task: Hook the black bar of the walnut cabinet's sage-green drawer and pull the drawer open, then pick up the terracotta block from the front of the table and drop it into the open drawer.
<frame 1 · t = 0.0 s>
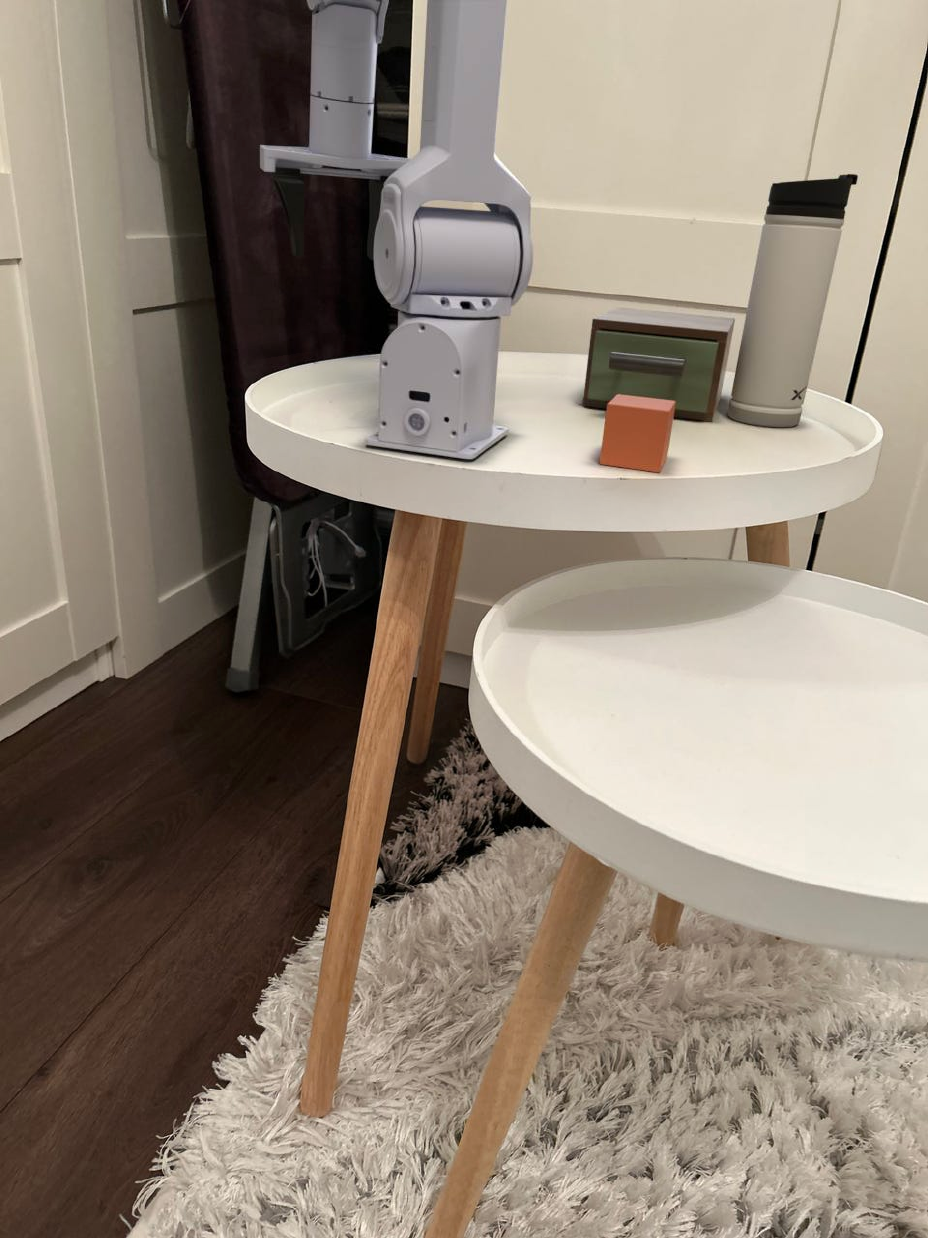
hand: (335, 256, 87), 11 cm above the table, tool pointing down, fingers open, 7 cm apart
cabinet: (655, 401, 85), on the table
block: (633, 461, 62), on the table
drawer: (656, 366, 79), point 4 cm above the table, slide at 0.0 cm
travel mug: (764, 422, 79), on the table
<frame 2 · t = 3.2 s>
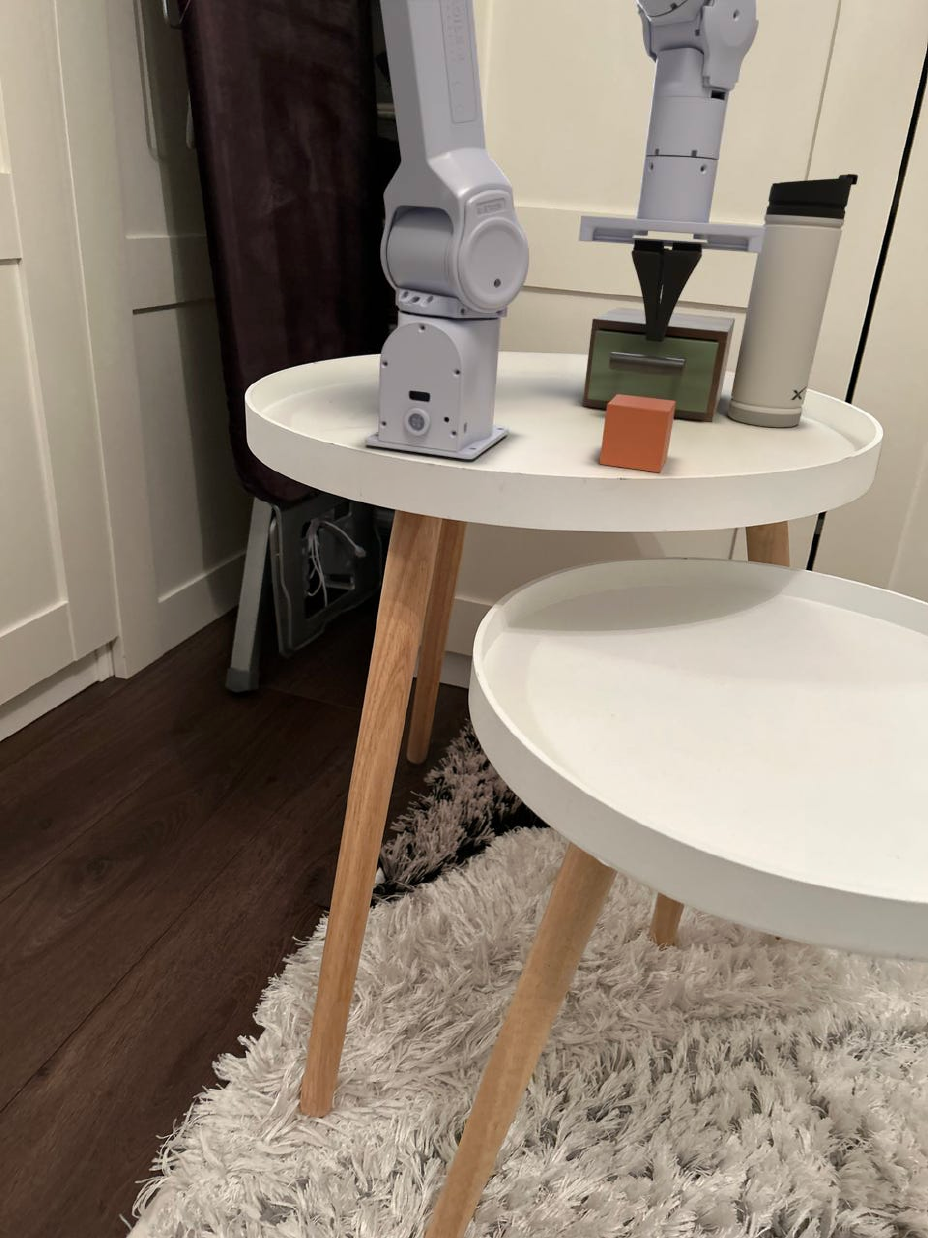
hand: (655, 339, 74), 7 cm above the table, tool pointing down, fingers closed, pressing on drawer
drawer: (656, 366, 79), point 4 cm above the table, slide at 0.0 cm, touching cabinet, gripper
everything else where it was.
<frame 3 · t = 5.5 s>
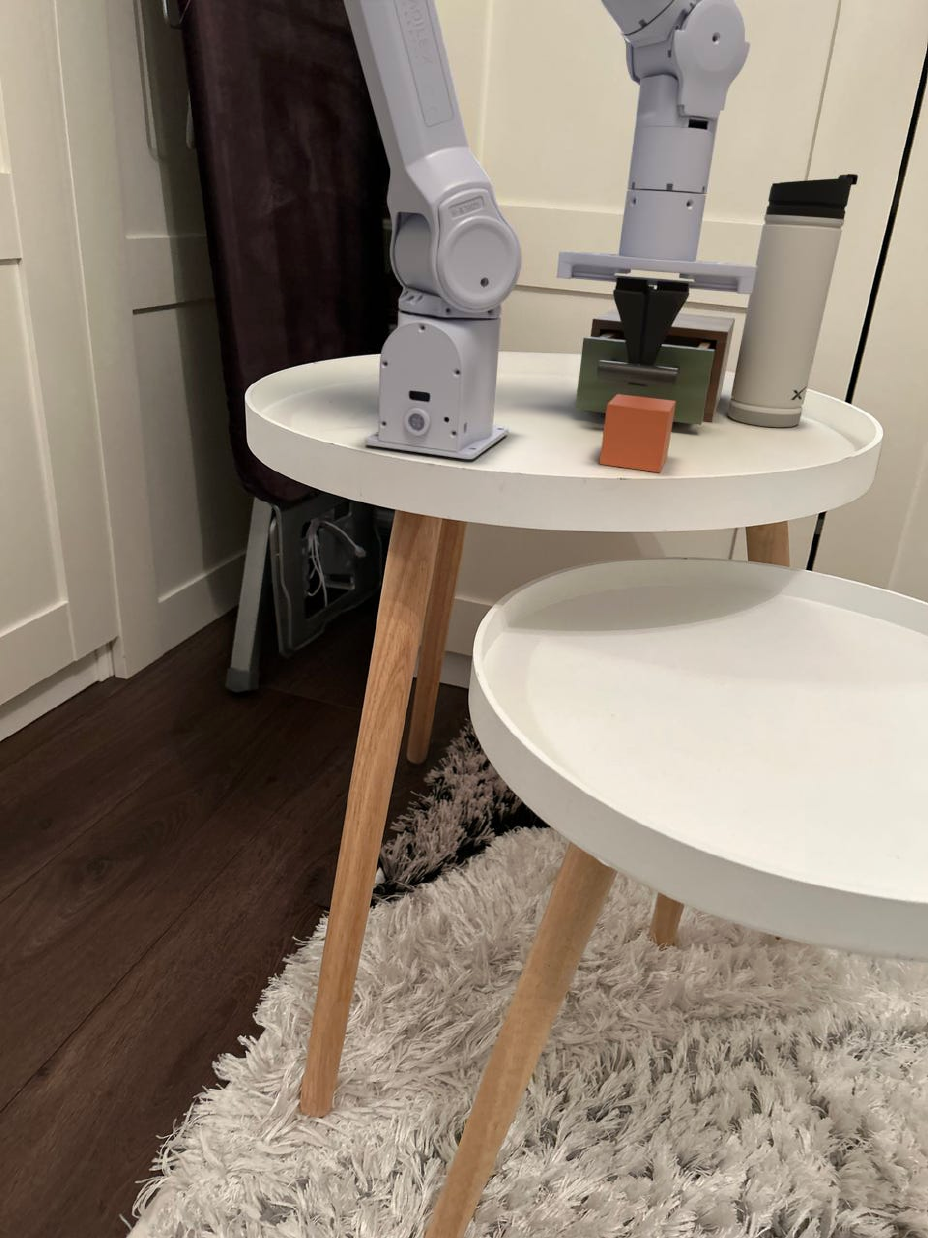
hand: (638, 383, 69), 4 cm above the table, tool pointing down, fingers closed, pressing on drawer
drawer: (648, 374, 75), point 4 cm above the table, slide at 5.5 cm, touching gripper
everything else where it was.
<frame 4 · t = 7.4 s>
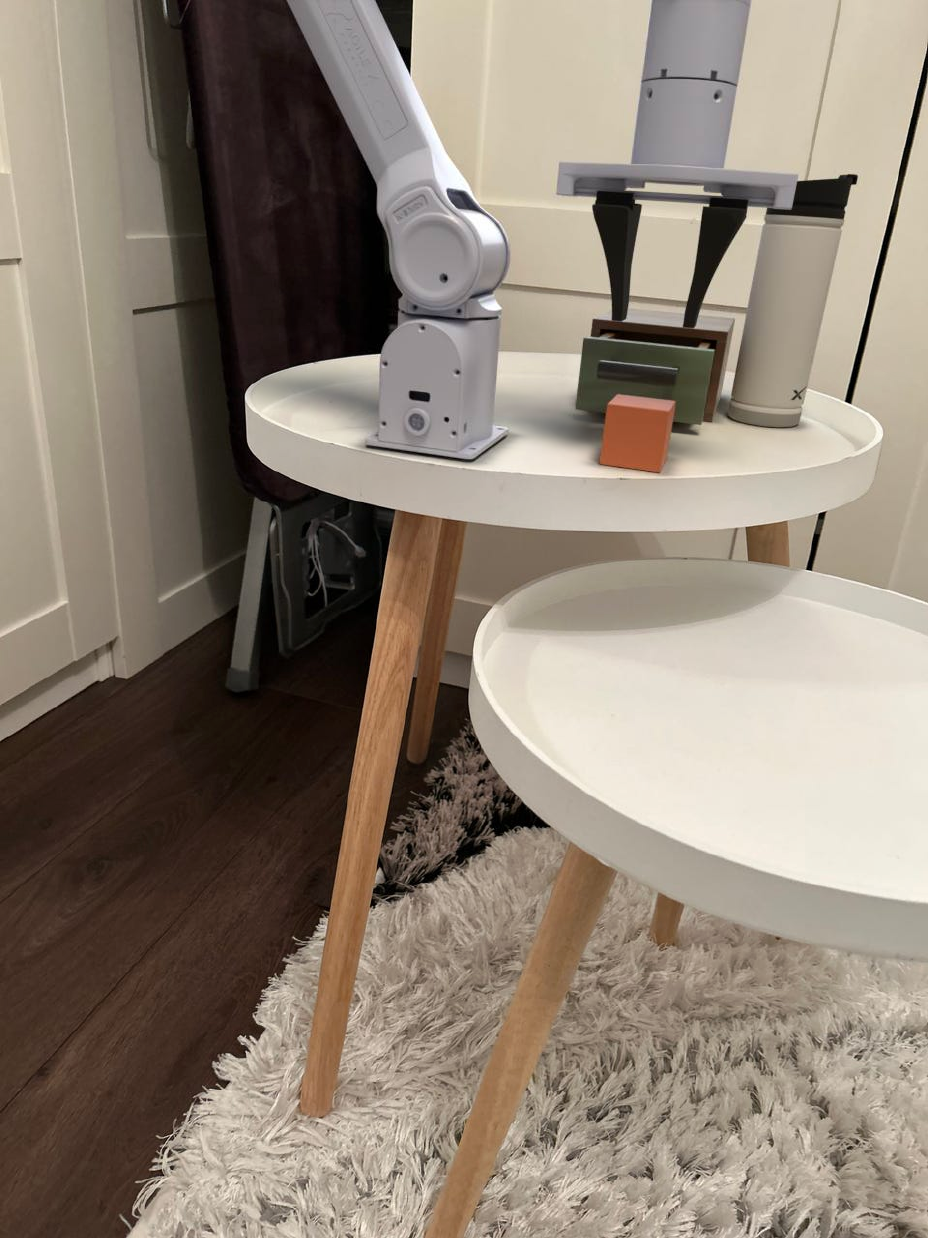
hand: (653, 323, 59), 9 cm above the table, tool pointing down, fingers open, 4 cm apart
drawer: (648, 374, 75), point 4 cm above the table, slide at 5.5 cm
everything else where it was.
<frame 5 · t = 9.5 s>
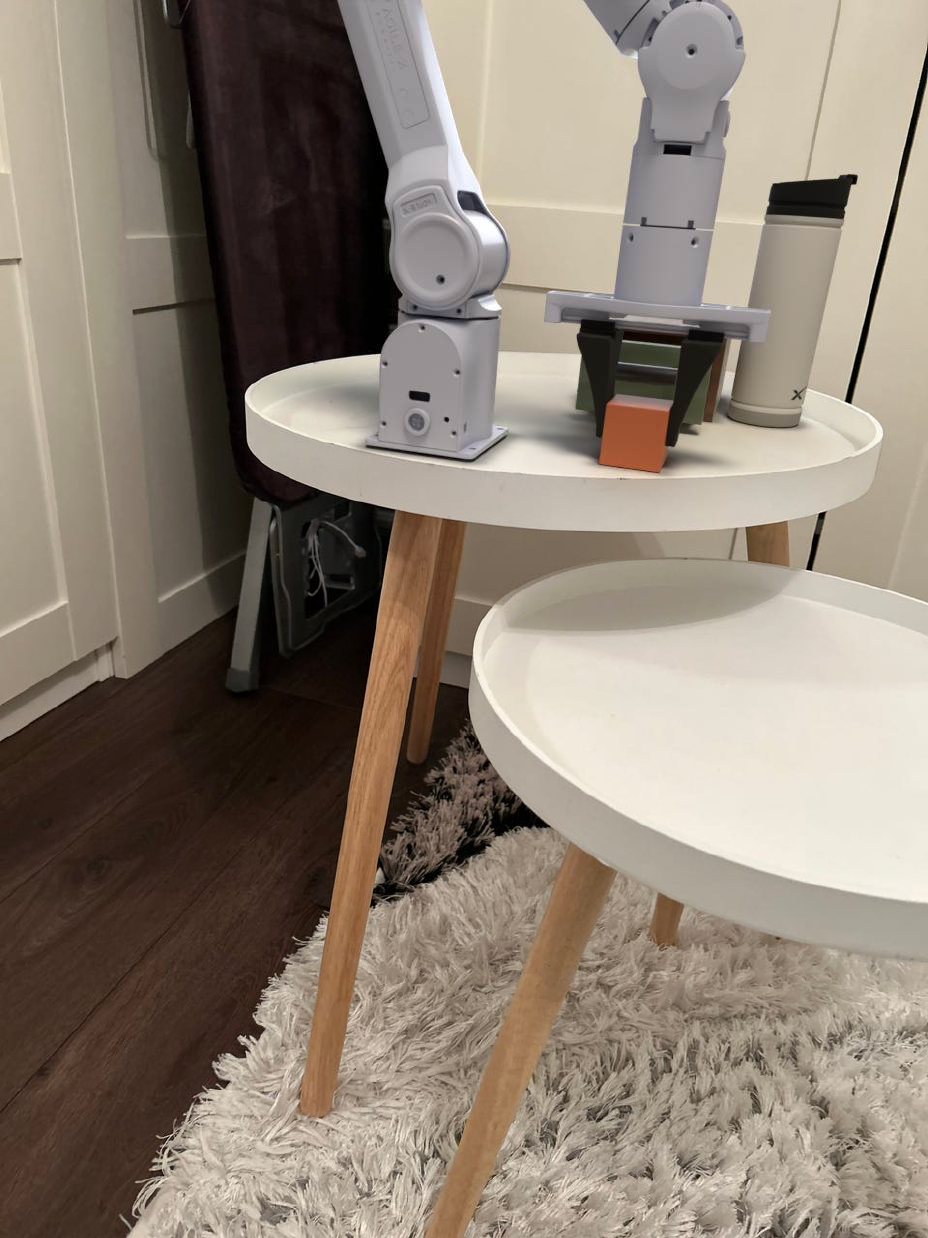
hand: (636, 439, 62), 2 cm above the table, tool pointing down, fingers closed on block, 4 cm apart
block: (633, 461, 62), on the table, touching gripper
everything else where it was.
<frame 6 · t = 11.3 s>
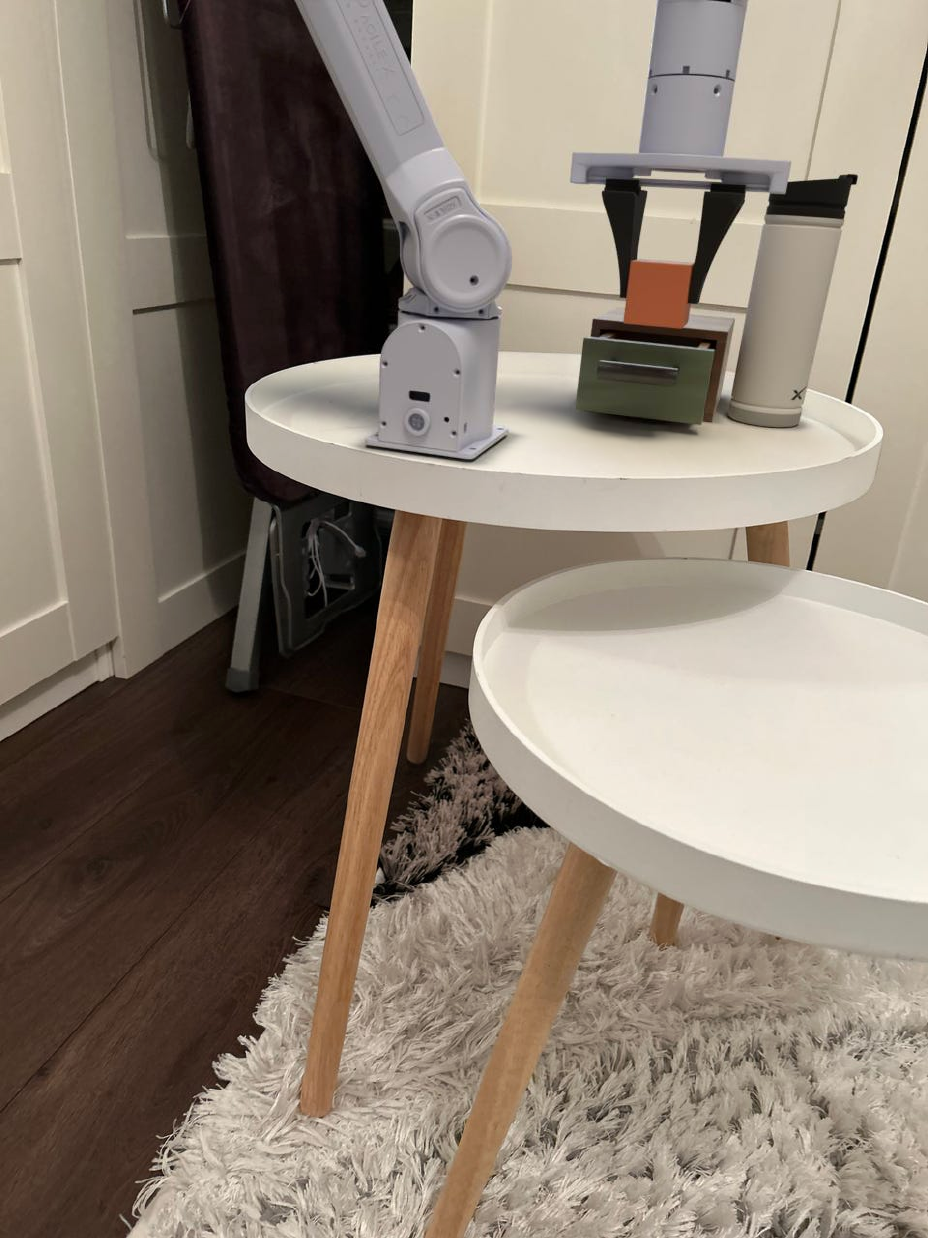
hand: (659, 300, 64), 10 cm above the table, tool pointing down, fingers closed on block, 4 cm apart
block: (656, 323, 64), point 9 cm above the table, touching gripper
everything else where it was.
when the fingers open (8 cm above the table, at t = 13.2 s): block drops 2 cm and tips over, resting on drawer.
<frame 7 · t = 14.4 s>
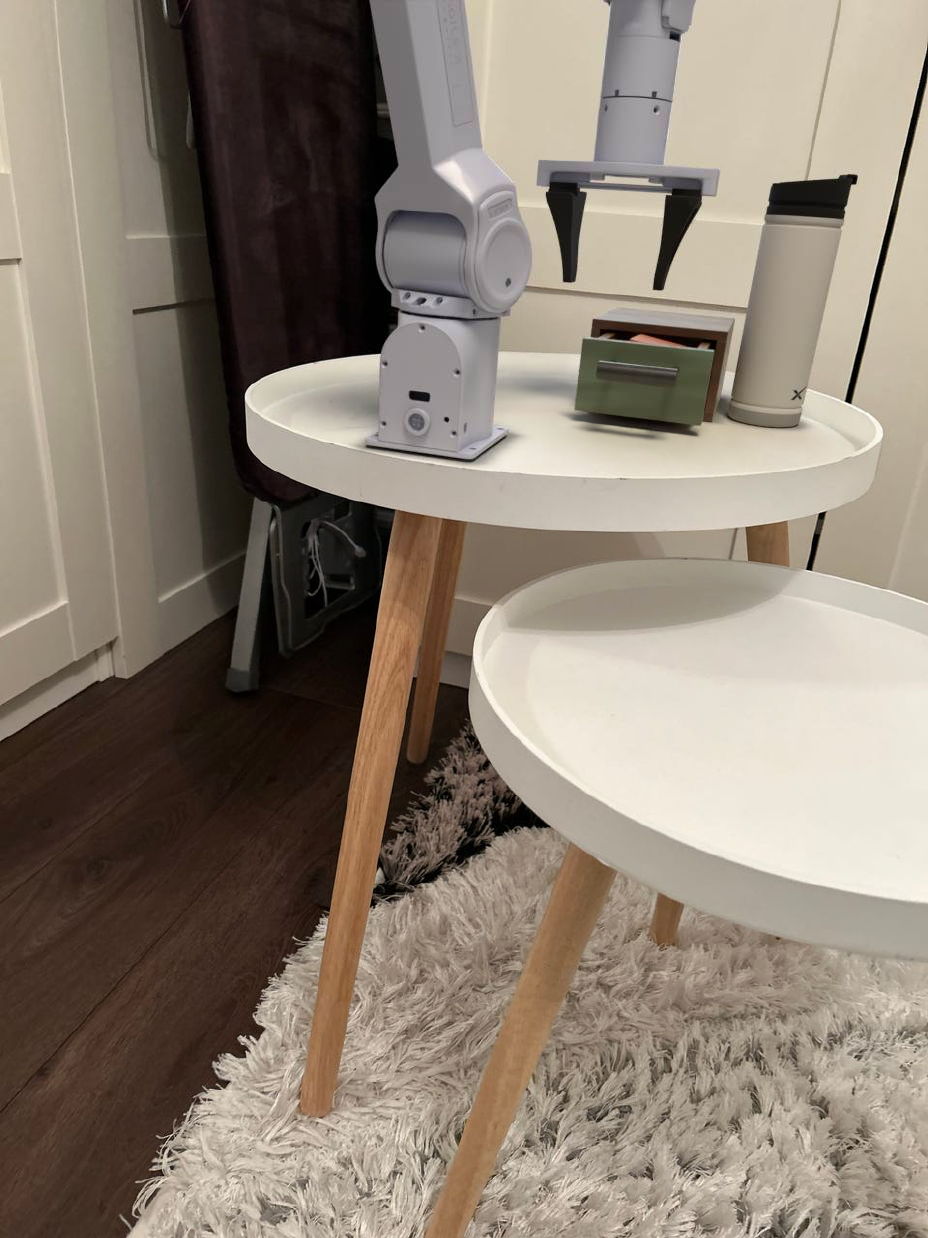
hand: (613, 285, 75), 10 cm above the table, tool pointing down, fingers open, 7 cm apart
block: (646, 370, 73), point 4 cm above the table, tilted 90°, touching drawer
drawer: (647, 375, 74), point 4 cm above the table, slide at 5.8 cm, touching block
everything else where it was.
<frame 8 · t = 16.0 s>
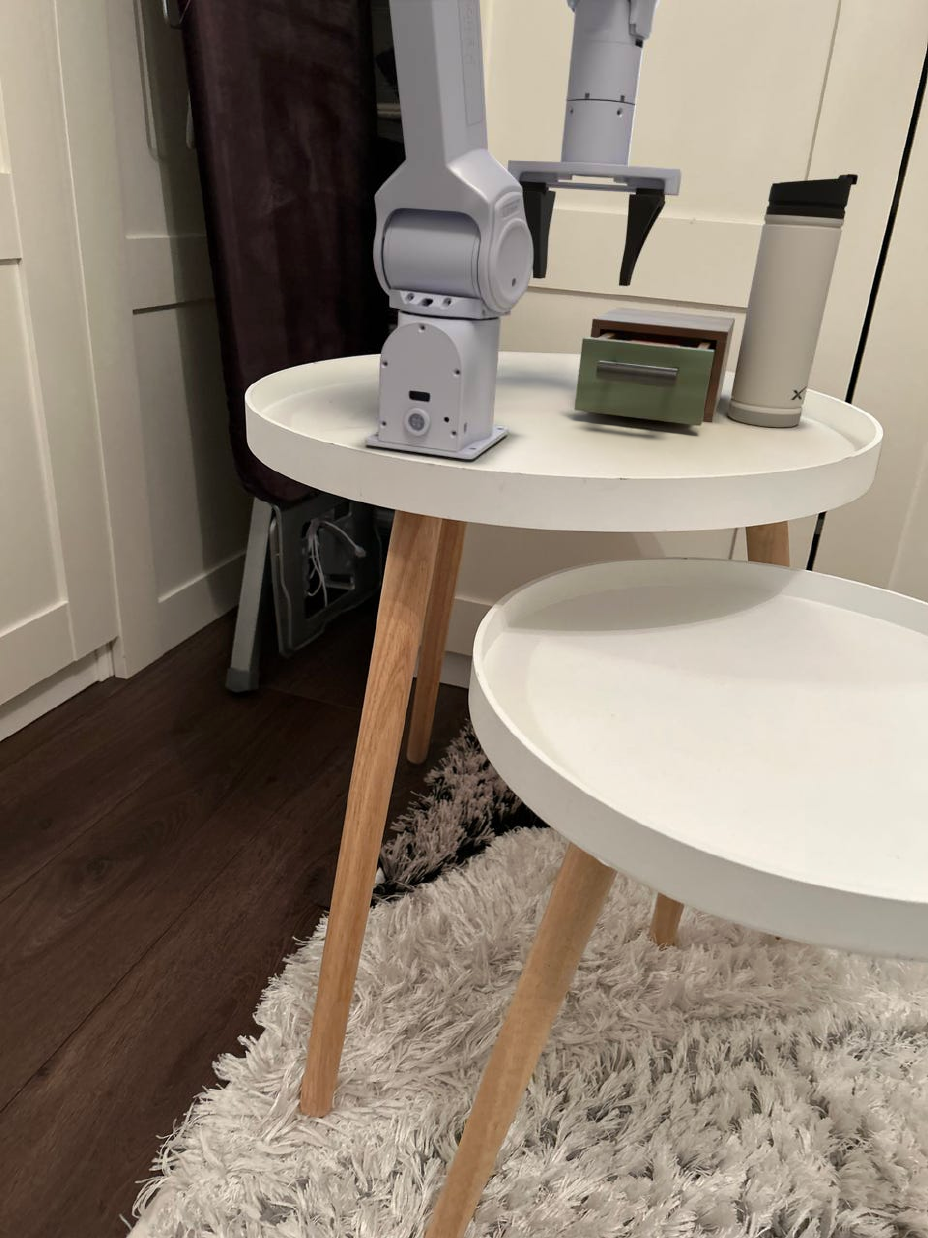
hand: (581, 281, 78), 10 cm above the table, tool pointing down, fingers open, 7 cm apart
nothing on the table moved.
at the end: drawer slide at 5.8 cm; block inside the target area in the cabinet (8.1 cm from its centre), point 4.1 cm above the cabinet's base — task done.
